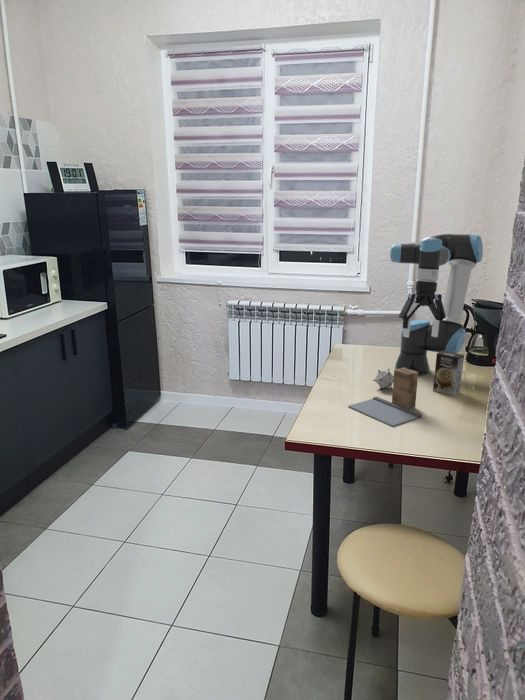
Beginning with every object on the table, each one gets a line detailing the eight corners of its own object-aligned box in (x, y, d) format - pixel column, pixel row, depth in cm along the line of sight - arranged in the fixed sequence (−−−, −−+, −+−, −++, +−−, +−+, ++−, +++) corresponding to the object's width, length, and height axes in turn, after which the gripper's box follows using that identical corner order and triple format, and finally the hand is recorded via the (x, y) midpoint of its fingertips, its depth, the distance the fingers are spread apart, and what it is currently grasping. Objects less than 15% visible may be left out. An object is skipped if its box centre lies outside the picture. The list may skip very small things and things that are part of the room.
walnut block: (400, 401, 199) (403, 367, 195) (415, 407, 193) (418, 372, 190) (391, 404, 196) (394, 369, 193) (406, 410, 191) (409, 374, 187)
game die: (387, 397, 214) (397, 384, 206) (368, 389, 214) (377, 375, 207) (392, 382, 219) (401, 368, 212) (373, 374, 220) (382, 360, 212)
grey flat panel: (376, 398, 202) (376, 396, 202) (421, 417, 184) (421, 414, 184) (348, 406, 194) (348, 404, 194) (392, 426, 176) (392, 424, 176)
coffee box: (432, 391, 211) (435, 353, 207) (439, 387, 216) (442, 350, 211) (453, 396, 205) (458, 357, 201) (460, 392, 210) (464, 354, 205)
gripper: (406, 280, 184) (399, 338, 188) (460, 282, 194) (452, 338, 198) (393, 279, 191) (387, 335, 195) (445, 281, 201) (439, 335, 205)
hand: (420, 337), depth 196 cm, fingers open, 13 cm apart
